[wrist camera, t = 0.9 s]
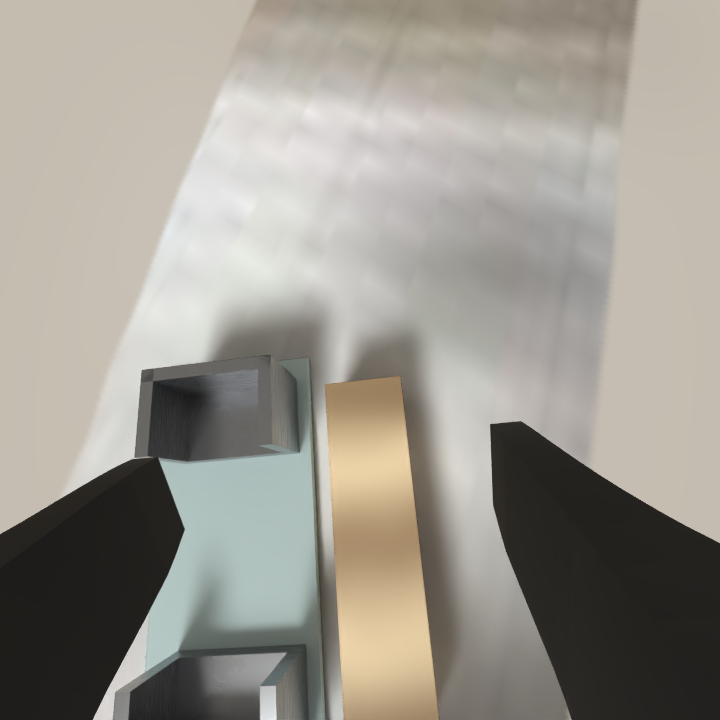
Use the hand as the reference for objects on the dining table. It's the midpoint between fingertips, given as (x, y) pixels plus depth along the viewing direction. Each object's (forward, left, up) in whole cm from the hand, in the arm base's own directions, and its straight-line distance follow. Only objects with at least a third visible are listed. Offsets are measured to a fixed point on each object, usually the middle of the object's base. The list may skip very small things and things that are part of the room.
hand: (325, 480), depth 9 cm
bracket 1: (+4, +7, -13) cm, 15 cm away
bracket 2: (-8, +7, -13) cm, 17 cm away
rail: (-2, 0, -13) cm, 14 cm away
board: (-2, +8, -13) cm, 15 cm away
